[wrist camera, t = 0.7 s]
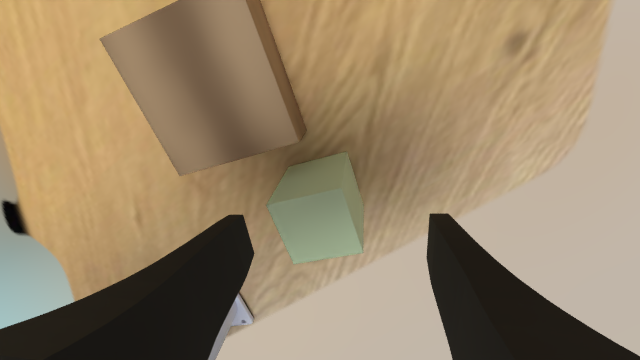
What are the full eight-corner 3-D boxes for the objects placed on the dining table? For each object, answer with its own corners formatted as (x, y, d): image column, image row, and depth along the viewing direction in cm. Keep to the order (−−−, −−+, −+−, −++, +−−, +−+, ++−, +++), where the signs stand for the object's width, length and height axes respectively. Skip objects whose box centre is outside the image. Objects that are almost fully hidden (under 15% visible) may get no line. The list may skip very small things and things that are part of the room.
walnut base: (201, 159, 22) (179, 176, 20) (136, 38, 19) (99, 38, 16) (307, 128, 20) (299, 142, 17) (255, -17, 16) (235, -28, 14)
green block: (308, 215, 23) (293, 264, 18) (288, 166, 21) (266, 205, 16) (363, 204, 22) (363, 253, 17) (347, 151, 20) (341, 187, 15)
